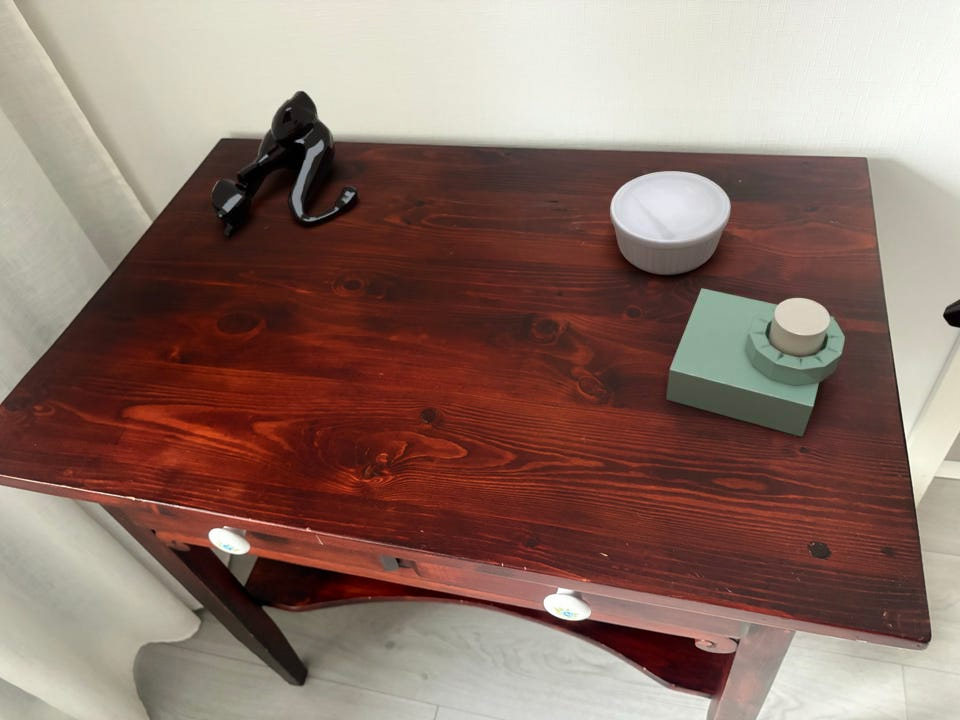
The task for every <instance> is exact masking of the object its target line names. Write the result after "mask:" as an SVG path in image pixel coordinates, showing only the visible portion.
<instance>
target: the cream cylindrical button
mask: <svg viewBox="0 0 960 720" xmlns="http://www.w3.org/2000/svg"><path fill="white" fill-rule="evenodd" d="M777 305H778V306H777V307H776V309H775V311H774V315H773V319H772V323H771V327H770V331H769V340H770V342H771V344H772V345H773V347H774V348H775V349H777V350H778V351H780V352H781V353H783V354H786V355H791V356H795V357H807V356H811V355H813V354H815V353H817V352H818V351H819V350H820V349H821V347H822V344H823V341H824V339H825V336H826V333H827V330H828V327H829V324H830V316H831V315H830V313H829V312H828V310H827V308H825V306H823V305H822V304H821V303H819V302H817V301H814V300H812V299H809V298H804V297H792V298H788V299H785V300H782V301H781V302H779V304H777Z"/></svg>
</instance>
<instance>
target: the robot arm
mask: <svg viewBox="0 0 960 720" xmlns="http://www.w3.org/2000/svg"><path fill="white" fill-rule="evenodd" d="M942 317H943V319H944V321H945V322H946V323H947V324H948V326H950V327H952V328H958V329H960V298H959V299H957V300H955V301H953V302H952V303H950V304H949V305H947V306H946V307H945V309H944V311H943V313H942Z"/></svg>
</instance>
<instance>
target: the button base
mask: <svg viewBox="0 0 960 720" xmlns="http://www.w3.org/2000/svg"><path fill="white" fill-rule="evenodd" d="M778 305H779V304H776V303H771V302H767V301H762V300H758V299H753V298H750V297H749V298H748V297H744V296H739V295H735V294H730V293H726V292H722V291H721V292H720V291H716V290H711V289H707V288H703V287H701V288H700V291H699V293H698V296H697V298H696V301H695V303H694V306H693V308H692V310H691V314H690V315H689V319H688V322H687V324H686V326H685V329H684V332H683V334H682V337H681V338H680V342H679V344H678V346H677V348H676V352H675V354H674V356H673V358H672V362H671V365H670V367H669V370H668V377H667V387H666V394H665V395H666V396H665V399H666V400H667V401H670V402H674V403H678V404H682V405H685V406H687V407H692V408H696V409H700V410H703V411H705V412H710V413H714V414H717V415H721V416H725V417H728V418H732V419H736V420H739V421H743V422H746V423H750V424H753V425H757V426H761V427H764V428H768V429H770V430H771V429H772V430H776V431H779V432H782V433H786V434H789V435H794V436H797V437H801V438H803V437H804V434H805V431H806V429H807V425H808V423H809V420H810V418H811V415H812V412H813V409H814V406H815V401H816V398H817V393H818V388H819V384H820V383H821V382H823V381H824V380H825V379H826V378H828V377H829V376H830V375H832V374H834V373H835V372H836V371H837V369H838V365H839V363H840V360H841V358H842V354H843V350H844V346H845V341H846V337H845V335H844V333H843V331H842V329H841V328H840V326H839V324H838V322H837V320H835V316H831V315H829V316H830V324H829V327H828V330H827V333H826V336H825V339H824V341H823V344H822V347H821V349H820V350H819V351H818V352H817V353H815V354H813V355H811V356H807V357H795V356H791V355H786V354H783V353H781V352H780V351H778V350H777V349H775V348H774V347H773V345H772V344H771V342H770V340H769V331H770V327H771V323H772V319H773V315H774V311H775V309H776V307H777V306H778Z"/></svg>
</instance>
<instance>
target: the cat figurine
mask: <svg viewBox="0 0 960 720" xmlns="http://www.w3.org/2000/svg"><path fill="white" fill-rule="evenodd" d="M313 100H314V99H312V98H311V97H310V95H309V94H308V93H307V92H306V91H304V90H297V91H296V92H295V93H294V94H293V95H292V96H291V98H289V99H286V100H285V101H284V102H283V103H282V104H281V105H280V106H279V107H278V108H277V110H276V111H275V113H274V115H273V117H272V120H271V124H270V128H269V129H268V130H267V131H266V133H264V136H263V138H262V140H261V142H260V145H259V147H258V150H257V151H258V152H257V156H256V157H255V159H254V161H252V162H250V163H248V164H247V165H246V166H244V167H242V168H241V169H240V170H239V171H237V173H236V179H237V182H235V181H234V180H232V179H228V178H222V179H218V180H217V181H216V182H215V184H214V186H213V188H212V190H211V193H210V203H211V205H212V207H213V210H214V212H215V217H216V218H217V219H219V220H220V221H221V222H222V223H223V224H224V225H226V227H225V229H224V231H223V234H224V236H226V237H227V238H229V237H231V236H232V235H233V233H234V230H235V229H236V228H237V227H238V226H239V225H240V224H241V223H242V221H244V219H245V218H246V217H248V215H249V214H250V213H251V211H252V209H253V201H252V199H253V198H254V197H255V196H256V194H257V193H258V191H259V190H260V188H261V186H262V185H263V184H264V182H265V180H266V178H267V177H268V176H270V175H271V174H272V173H273V172H276V171H279V170H283V169H285V170H288V171H290V172H292V171H293V172H294V171H298V173H297V175H296V178H295V180H294V182H293V185H292V187H291V189H290V191H289V193H288V196H287V200H286V201H287V204H288V209H289V210H290V212H291V214H292V216H293V217H294V219H295V220H296V221H297V222H298V223H300V224H302V225H304V226H310V227H311V226H314V225H317V224H320V223H323V222H325V221H328V220H330V219H332V218H335V217H336V216H338V215H339V214H341V213H345V212H349V211H350V210H351V209H352V208H353V206H355V205H356V204H357V202H358V201H359V193H358V189H357V187H355V186H353V185H350V184H349V185H346V186H344V187H343V188H342V190H341V193H340V195H339V196H338V197H337V198H336V200H335V202H334V205H333V207H332V208H330V209H328V210H326V211H324V212H321V213H319V214H316V215H308V214H307V213H306V209H307V206H308V204H309V202H310V200H311V199H312V197H313V196H314V195H315V194H316V192H317V190H318V189H319V187H320V186H321V185H322V183H323V180H325V178H326V176H328V173H329V172H330V170H331V168H332V166H333V164H334V160H335V155H336V146H335V139H334V136H333V134H332V133H333V132H332V131H331V130H330V128H329V127H328V126H327V125H326V124H325V123H324V122H323V121H322V120H320V118H319V113H318V109H317V105H316V103H315V102H314V101H313Z"/></svg>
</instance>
